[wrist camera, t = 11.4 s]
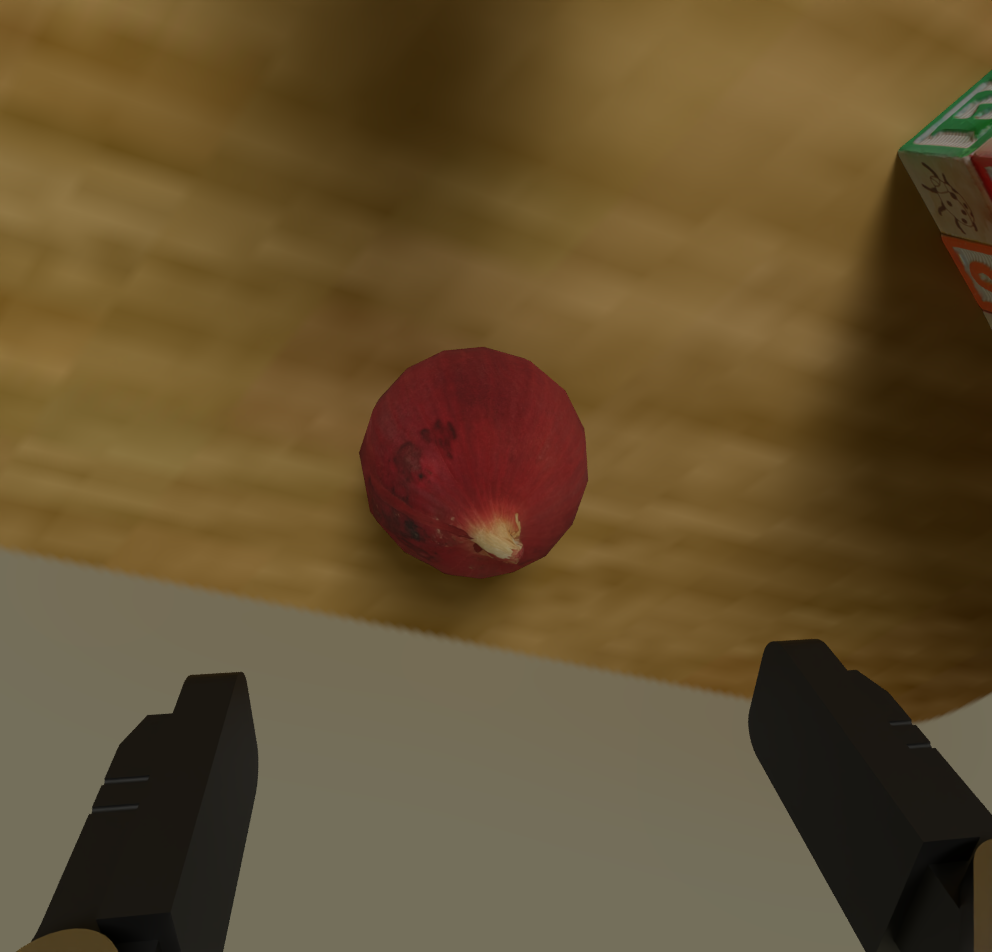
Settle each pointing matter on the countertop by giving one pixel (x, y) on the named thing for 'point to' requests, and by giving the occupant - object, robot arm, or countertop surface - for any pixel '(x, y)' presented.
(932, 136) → the stack of blocks
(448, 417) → the onion
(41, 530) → the countertop surface
